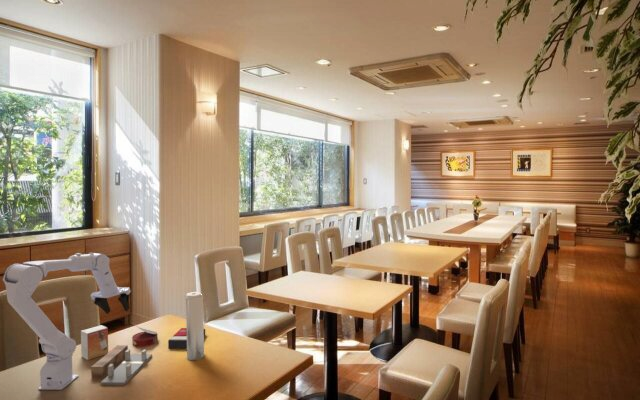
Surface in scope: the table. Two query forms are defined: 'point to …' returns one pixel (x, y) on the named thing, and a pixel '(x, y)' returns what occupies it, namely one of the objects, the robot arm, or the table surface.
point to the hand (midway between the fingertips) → (118, 310)
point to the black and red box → (179, 340)
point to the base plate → (126, 368)
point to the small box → (94, 342)
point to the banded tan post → (108, 361)
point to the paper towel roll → (194, 326)
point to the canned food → (144, 338)
